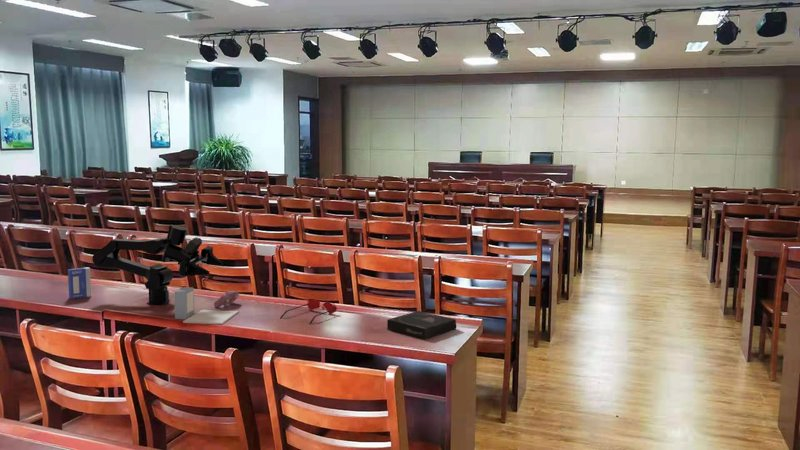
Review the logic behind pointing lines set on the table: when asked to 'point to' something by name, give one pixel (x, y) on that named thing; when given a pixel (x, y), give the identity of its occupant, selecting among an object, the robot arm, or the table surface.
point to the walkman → (79, 282)
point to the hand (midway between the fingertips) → (215, 268)
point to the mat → (211, 317)
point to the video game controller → (227, 298)
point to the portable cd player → (421, 325)
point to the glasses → (316, 304)
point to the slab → (184, 302)
